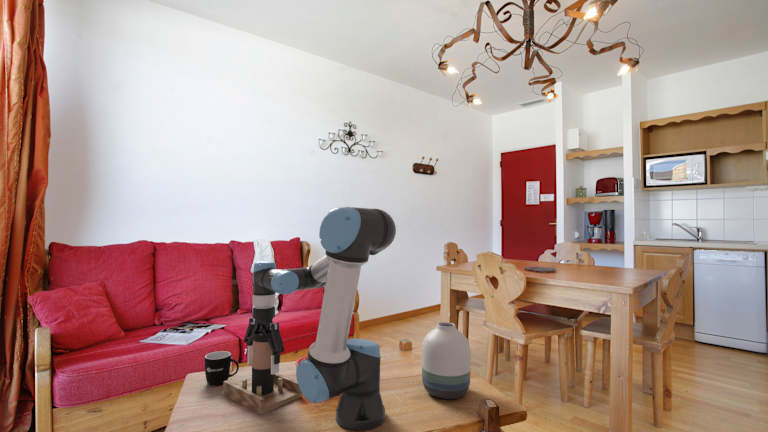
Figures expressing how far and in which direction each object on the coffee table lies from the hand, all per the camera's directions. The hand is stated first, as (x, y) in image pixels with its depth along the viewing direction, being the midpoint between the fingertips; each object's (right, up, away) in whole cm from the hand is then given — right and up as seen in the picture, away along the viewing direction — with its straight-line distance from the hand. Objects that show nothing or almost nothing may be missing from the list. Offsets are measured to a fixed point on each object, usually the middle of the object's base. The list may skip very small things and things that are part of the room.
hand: (262, 368), depth 130 cm
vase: (+64, -10, +4) cm, 64 cm away
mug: (-19, -10, +10) cm, 23 cm away
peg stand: (0, -9, 0) cm, 9 cm away
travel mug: (0, -8, 0) cm, 8 cm away
